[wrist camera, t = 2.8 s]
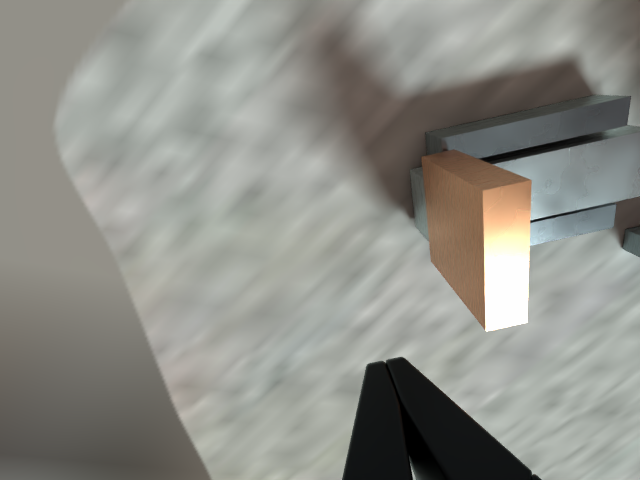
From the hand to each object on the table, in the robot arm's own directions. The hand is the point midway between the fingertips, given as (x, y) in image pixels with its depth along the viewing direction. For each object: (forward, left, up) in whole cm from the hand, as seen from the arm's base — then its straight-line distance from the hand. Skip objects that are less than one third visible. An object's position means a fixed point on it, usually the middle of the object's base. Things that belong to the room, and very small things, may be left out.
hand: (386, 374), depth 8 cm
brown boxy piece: (-9, 0, -11) cm, 14 cm away
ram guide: (-9, 0, -11) cm, 14 cm away
